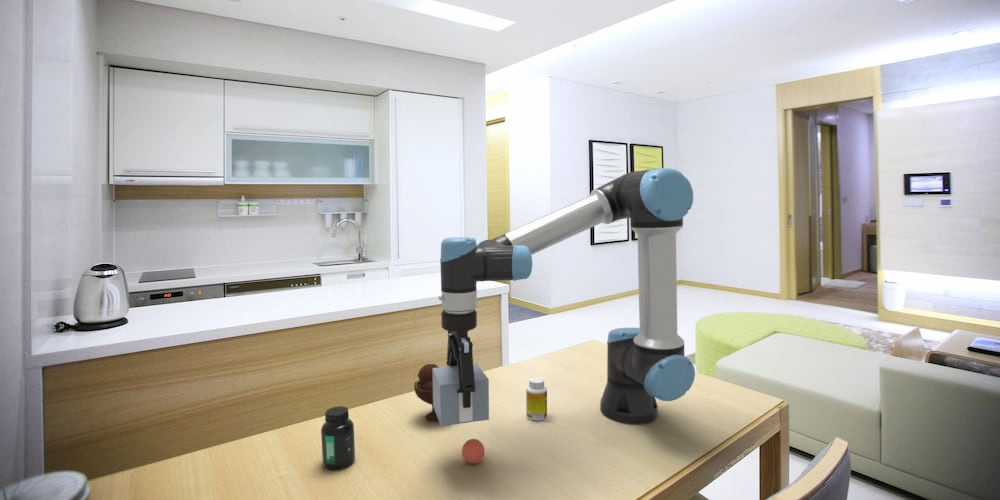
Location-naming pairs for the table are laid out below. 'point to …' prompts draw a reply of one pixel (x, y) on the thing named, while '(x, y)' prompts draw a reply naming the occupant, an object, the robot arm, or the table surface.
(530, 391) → the supplement bottle
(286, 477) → the table surface
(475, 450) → the ball
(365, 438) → the table surface
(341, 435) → the supplement bottle
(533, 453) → the table surface
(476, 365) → the block
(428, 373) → the ice cream bowl
